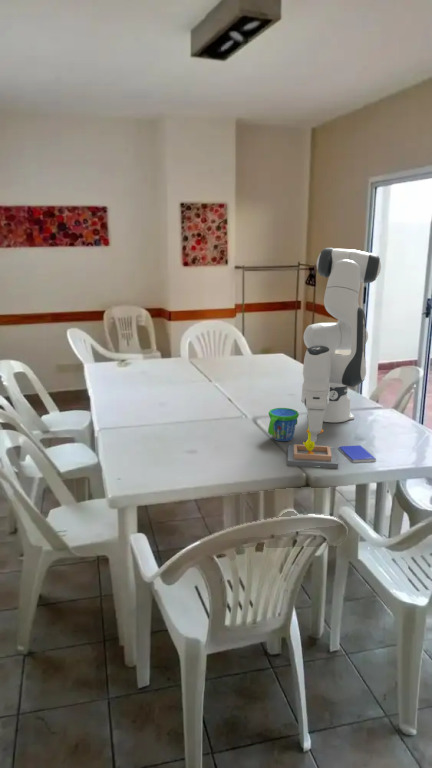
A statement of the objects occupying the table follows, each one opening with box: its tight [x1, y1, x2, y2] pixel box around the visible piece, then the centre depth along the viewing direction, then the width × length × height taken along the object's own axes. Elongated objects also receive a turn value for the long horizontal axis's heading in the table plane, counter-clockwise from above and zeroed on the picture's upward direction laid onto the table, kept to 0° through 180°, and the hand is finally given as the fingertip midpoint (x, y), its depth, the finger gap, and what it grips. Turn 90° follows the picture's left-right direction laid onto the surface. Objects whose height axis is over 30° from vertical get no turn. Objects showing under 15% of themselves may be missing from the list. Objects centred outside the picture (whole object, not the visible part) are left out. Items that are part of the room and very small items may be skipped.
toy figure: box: [302, 424, 325, 454], centre depth 186 cm, size 7×4×12 cm, turn 95°
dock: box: [286, 443, 339, 469], centre depth 187 cm, size 14×16×3 cm
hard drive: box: [338, 445, 377, 464], centre depth 191 cm, size 2×8×12 cm
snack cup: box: [267, 407, 299, 442], centre depth 205 cm, size 16×10×10 cm
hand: (313, 436), depth 186 cm, fingers open, 6 cm apart
